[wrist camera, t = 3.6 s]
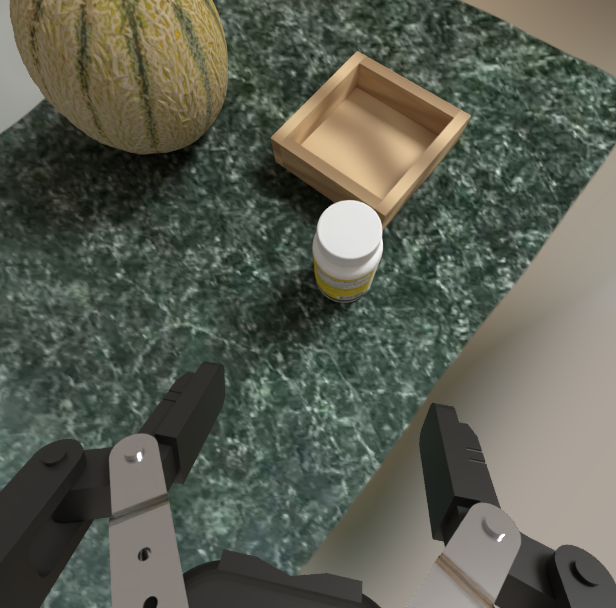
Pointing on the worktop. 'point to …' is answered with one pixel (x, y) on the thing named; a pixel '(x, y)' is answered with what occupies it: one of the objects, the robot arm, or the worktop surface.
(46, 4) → the cantaloupe
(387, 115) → the box
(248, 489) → the worktop surface
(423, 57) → the worktop surface
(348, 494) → the worktop surface
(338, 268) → the supplement bottle
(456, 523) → the robot arm
